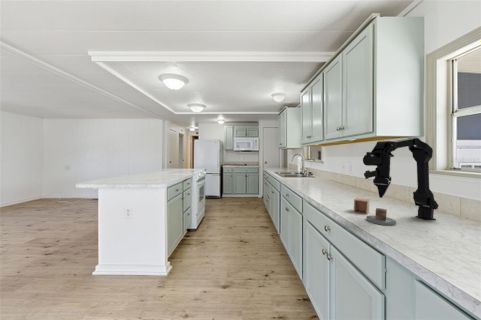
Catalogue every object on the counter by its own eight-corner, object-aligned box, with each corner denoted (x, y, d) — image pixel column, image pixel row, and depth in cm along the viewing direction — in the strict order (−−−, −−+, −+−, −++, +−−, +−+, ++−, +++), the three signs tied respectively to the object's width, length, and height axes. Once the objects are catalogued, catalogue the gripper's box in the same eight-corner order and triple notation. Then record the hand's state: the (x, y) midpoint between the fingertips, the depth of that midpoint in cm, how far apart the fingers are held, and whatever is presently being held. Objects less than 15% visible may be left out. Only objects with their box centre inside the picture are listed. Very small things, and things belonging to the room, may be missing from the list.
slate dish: (382, 217, 123) (382, 215, 123) (402, 225, 110) (402, 222, 110) (360, 217, 122) (360, 215, 122) (378, 225, 109) (378, 223, 109)
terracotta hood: (369, 211, 135) (369, 199, 134) (367, 214, 129) (367, 201, 129) (356, 209, 139) (356, 197, 139) (353, 212, 134) (354, 199, 133)
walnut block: (386, 218, 117) (386, 209, 116) (385, 221, 113) (385, 211, 113) (376, 217, 119) (376, 207, 119) (375, 219, 116) (375, 209, 116)
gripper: (368, 164, 127) (367, 191, 128) (362, 165, 112) (360, 196, 113) (392, 165, 120) (390, 194, 121) (388, 166, 106) (387, 200, 106)
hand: (381, 196), depth 116 cm, fingers open, 9 cm apart
